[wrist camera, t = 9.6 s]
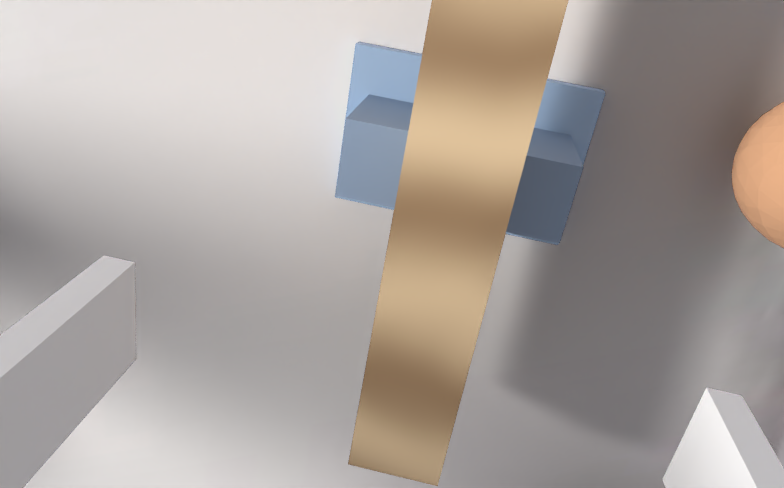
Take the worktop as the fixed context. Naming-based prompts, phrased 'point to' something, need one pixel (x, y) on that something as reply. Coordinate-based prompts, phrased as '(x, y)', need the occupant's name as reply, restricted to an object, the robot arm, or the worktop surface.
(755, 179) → the egg
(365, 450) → the oak bar
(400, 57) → the fulcrum
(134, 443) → the worktop surface
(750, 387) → the worktop surface
